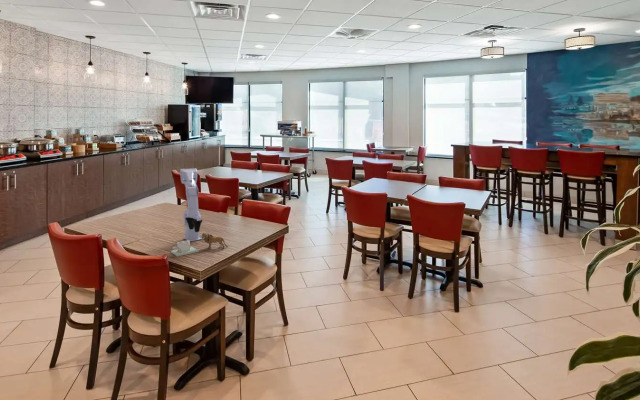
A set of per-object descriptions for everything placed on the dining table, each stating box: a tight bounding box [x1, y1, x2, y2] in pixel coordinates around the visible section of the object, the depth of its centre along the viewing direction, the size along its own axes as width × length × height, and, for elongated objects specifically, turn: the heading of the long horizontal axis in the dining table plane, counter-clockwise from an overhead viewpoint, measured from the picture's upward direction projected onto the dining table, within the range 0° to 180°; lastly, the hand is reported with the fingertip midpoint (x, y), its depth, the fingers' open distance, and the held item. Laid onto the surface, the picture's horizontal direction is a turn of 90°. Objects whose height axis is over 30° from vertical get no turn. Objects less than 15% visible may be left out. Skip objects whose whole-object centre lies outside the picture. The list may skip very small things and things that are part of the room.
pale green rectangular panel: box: [170, 245, 200, 258], centre depth 221 cm, size 9×12×1 cm
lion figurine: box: [201, 232, 229, 249], centre depth 228 cm, size 15×5×9 cm, turn 94°
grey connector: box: [171, 240, 191, 252], centre depth 219 cm, size 3×9×5 cm, turn 131°
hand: (194, 230), depth 230 cm, fingers open, 7 cm apart
